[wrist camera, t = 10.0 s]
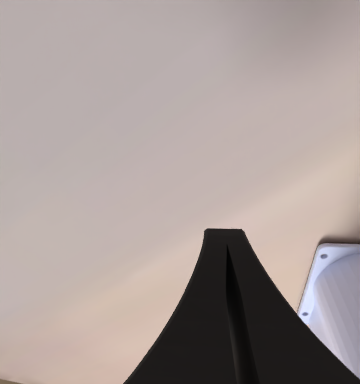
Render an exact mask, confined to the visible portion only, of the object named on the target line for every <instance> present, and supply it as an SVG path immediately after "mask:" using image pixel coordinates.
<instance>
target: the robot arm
mask: <svg viewBox="0 0 360 384" xmlns="http://www.w3.org/2000/svg"><path fill="white" fill-rule="evenodd" d="M322 254H324V255H322ZM306 324H309V327H310V328H309V327H308V326H307V325H306ZM123 384H360V244H331V243H324V244H321V245H319V246H318V248H317V250H316V254H315V257H314V260H313V264H312V267H311V270H310V273H309V277H308V280H307V283H306V287H305V290H304V293H303V297H302V300H301V303H300V306H299V310H298V313H296V312H295V311H294V310H293V308H292V307H291V306H290V305H289V303H288V302H287V301H286V299H285V298H284V297H283V295H282V294H281V293H280V291H279V290H278V289H277V287H276V286H275V284H274V283H273V281H272V280H271V278H270V277H269V275H268V274H267V272H266V271H265V269H264V267H263V266H262V264H261V263H260V261H259V259H258V258H257V256H256V254H255V252H254V251H253V249H252V247H251V245H250V243H249V241H248V239H247V237H246V235H245V232H244V231H243V230H242V229H210V228H207V229H206V230H205V231H204V239H203V244H202V248H201V252H200V255H199V258H198V261H197V263H196V266H195V269H194V271H193V274H192V276H191V278H190V281H189V283H188V285H187V287H186V289H185V292H184V294H183V296H182V298H181V300H180V301H179V303H178V305H177V307H176V309H175V311H174V312H173V314H172V316H171V318H170V319H169V321H168V322H167V324H166V326H165V327H164V329H163V330H162V332H161V334H160V335H159V337H158V338H157V340H156V341H155V343H154V344H153V345H152V347H151V348H150V350H149V351H148V352H147V354H146V355H145V356H144V358H143V359H142V361H141V362H140V363H139V365H138V366H137V367H136V369H135V370H134V371H133V372H132V374H131V375H130V376H129V377H128V379H127V380H126V381H125V382H124V383H123Z"/></svg>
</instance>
